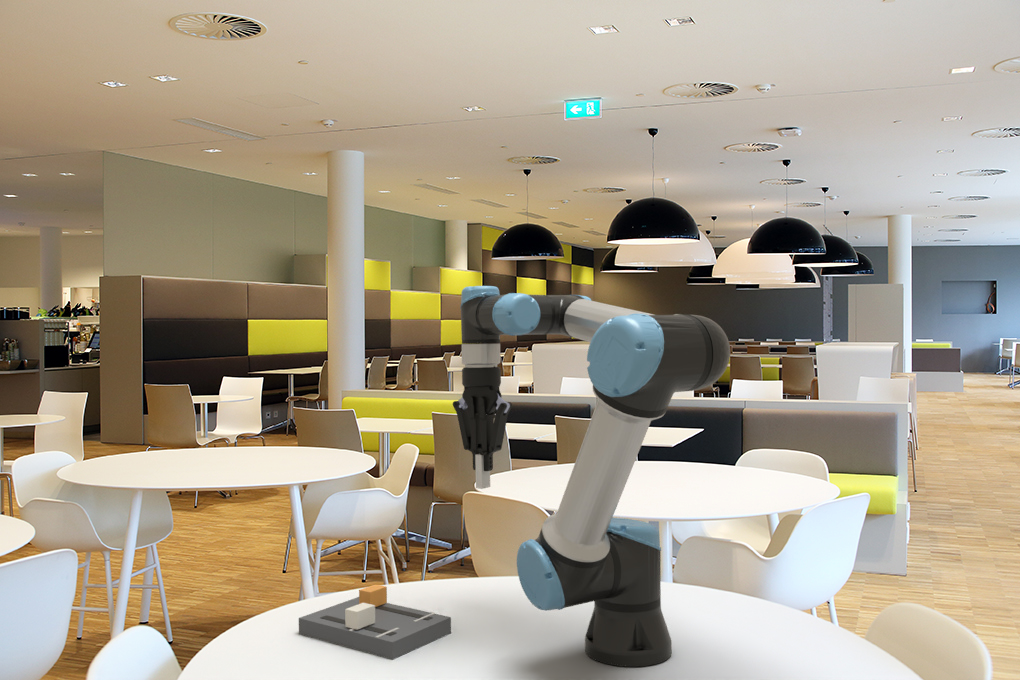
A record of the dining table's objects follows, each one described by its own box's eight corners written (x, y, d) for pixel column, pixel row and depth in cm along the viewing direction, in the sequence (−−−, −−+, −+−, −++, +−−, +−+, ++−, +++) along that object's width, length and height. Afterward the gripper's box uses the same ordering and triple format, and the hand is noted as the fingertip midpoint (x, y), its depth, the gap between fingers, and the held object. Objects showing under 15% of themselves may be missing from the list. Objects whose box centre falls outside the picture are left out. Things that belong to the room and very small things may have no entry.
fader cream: (375, 622, 161) (375, 605, 161) (357, 629, 158) (357, 611, 158) (363, 619, 163) (363, 602, 163) (345, 626, 159) (345, 609, 159)
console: (451, 633, 165) (450, 616, 165) (392, 659, 152) (392, 641, 152) (359, 611, 179) (359, 596, 179) (298, 633, 166) (298, 617, 165)
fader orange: (386, 602, 173) (386, 586, 173) (370, 608, 169) (370, 592, 169) (375, 600, 175) (375, 584, 175) (359, 606, 171) (359, 590, 171)
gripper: (519, 365, 169) (521, 487, 169) (466, 365, 177) (468, 481, 177) (497, 367, 163) (498, 493, 163) (442, 366, 171) (444, 487, 171)
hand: (483, 487), depth 170 cm, fingers closed
